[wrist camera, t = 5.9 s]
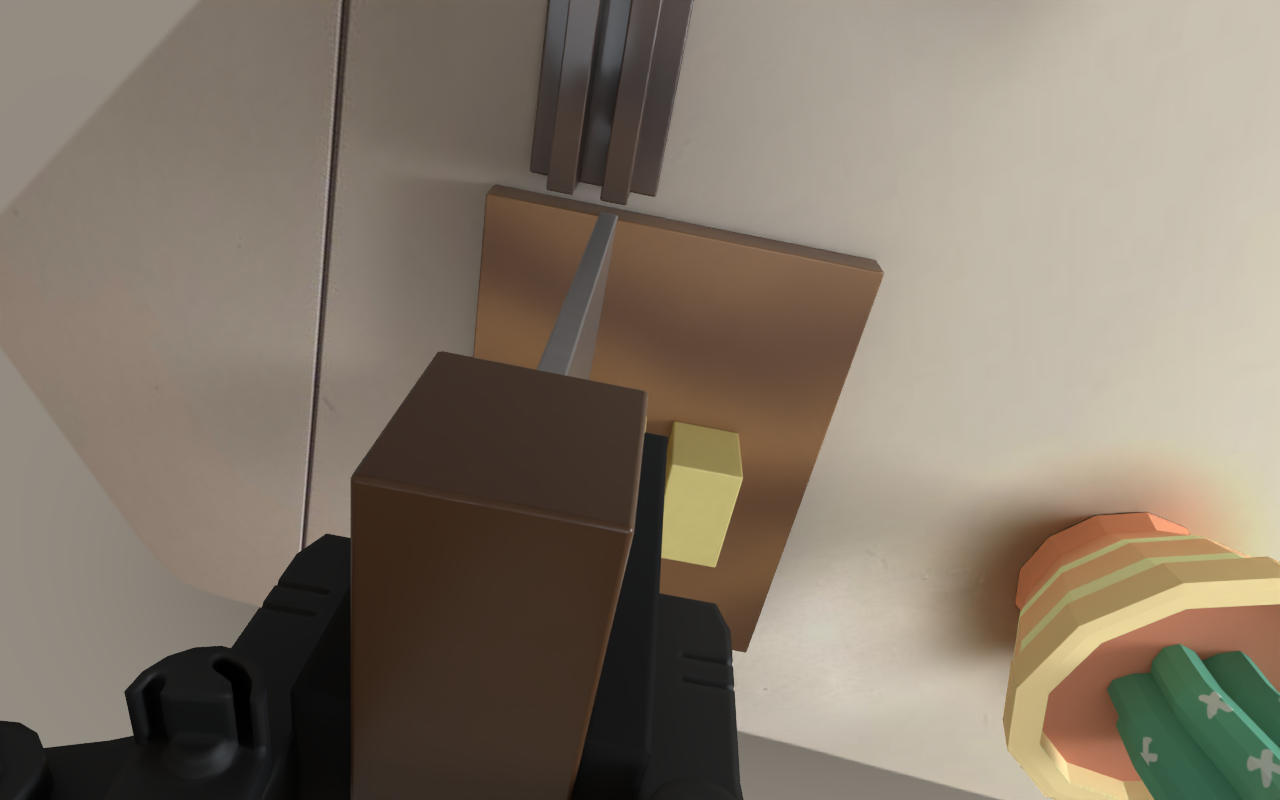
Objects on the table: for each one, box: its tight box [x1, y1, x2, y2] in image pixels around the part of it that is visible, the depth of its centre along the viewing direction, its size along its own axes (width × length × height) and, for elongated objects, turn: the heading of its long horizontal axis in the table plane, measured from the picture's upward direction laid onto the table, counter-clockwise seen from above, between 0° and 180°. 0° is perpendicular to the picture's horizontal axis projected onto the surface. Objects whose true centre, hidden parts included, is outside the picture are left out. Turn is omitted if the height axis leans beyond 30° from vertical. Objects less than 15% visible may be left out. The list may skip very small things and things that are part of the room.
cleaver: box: [351, 212, 648, 800], centre depth 13 cm, size 9×2×11 cm, turn 169°
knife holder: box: [530, 0, 694, 205], centre depth 26 cm, size 10×5×3 cm, turn 170°
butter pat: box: [661, 422, 743, 567], centre depth 34 cm, size 5×3×4 cm, turn 170°
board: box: [473, 185, 884, 652], centre depth 36 cm, size 22×16×2 cm
